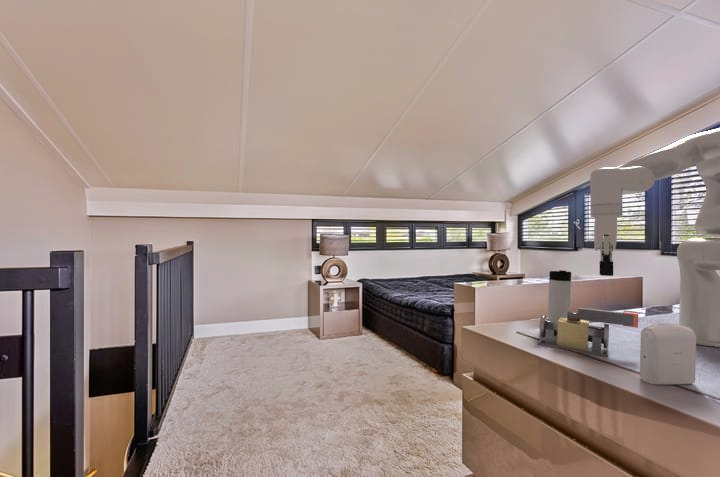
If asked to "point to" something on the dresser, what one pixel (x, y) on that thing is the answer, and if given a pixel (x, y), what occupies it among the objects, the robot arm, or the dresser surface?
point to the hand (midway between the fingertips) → (606, 275)
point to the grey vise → (574, 336)
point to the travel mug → (559, 294)
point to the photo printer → (668, 354)
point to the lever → (604, 317)
